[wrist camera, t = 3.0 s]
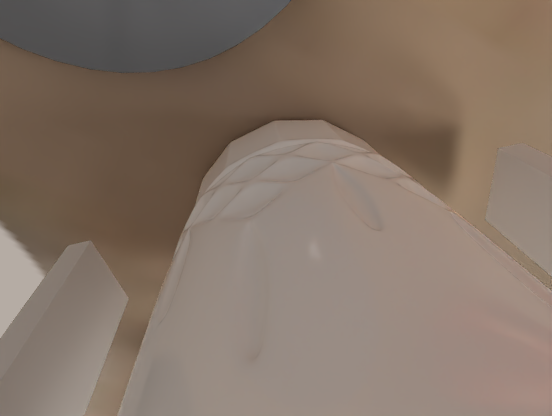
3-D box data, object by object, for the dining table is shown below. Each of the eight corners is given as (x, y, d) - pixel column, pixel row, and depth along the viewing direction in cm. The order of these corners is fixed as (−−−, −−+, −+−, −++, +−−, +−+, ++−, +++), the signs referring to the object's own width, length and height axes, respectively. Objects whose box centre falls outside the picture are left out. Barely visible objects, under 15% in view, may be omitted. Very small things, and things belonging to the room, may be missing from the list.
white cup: (399, 263, 14) (658, 671, 5) (220, 303, 14) (192, 757, 6) (398, 69, 10) (1635, 533, 1) (143, 131, 10) (-468, 912, 1)
